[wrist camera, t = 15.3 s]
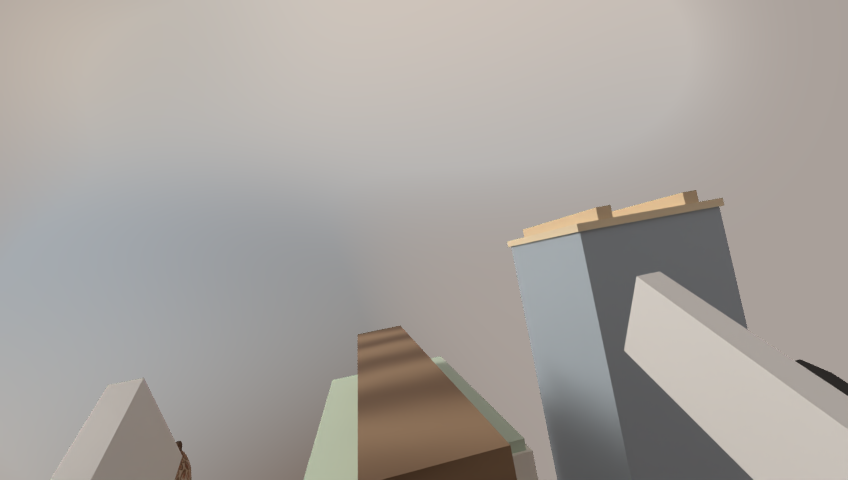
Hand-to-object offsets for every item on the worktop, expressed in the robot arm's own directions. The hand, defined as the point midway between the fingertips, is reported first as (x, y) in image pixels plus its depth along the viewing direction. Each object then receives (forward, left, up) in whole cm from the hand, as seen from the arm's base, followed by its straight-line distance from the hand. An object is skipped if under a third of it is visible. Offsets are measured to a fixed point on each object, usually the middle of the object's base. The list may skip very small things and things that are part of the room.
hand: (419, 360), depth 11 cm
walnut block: (-8, +8, -6) cm, 13 cm away
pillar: (-1, +25, -25) cm, 36 cm away
